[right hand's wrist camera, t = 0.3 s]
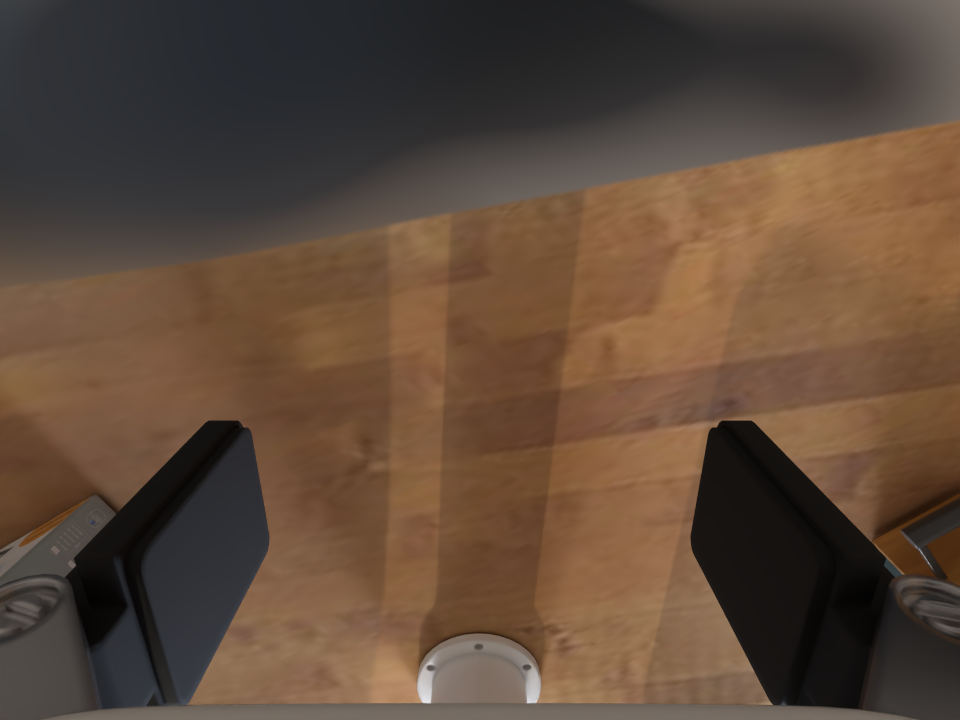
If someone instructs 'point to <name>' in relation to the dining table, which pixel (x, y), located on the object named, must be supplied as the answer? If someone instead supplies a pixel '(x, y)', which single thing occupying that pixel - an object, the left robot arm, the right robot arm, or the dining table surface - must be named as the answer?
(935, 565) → the drawer
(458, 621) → the dining table surface
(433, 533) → the dining table surface
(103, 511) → the hard drive box
